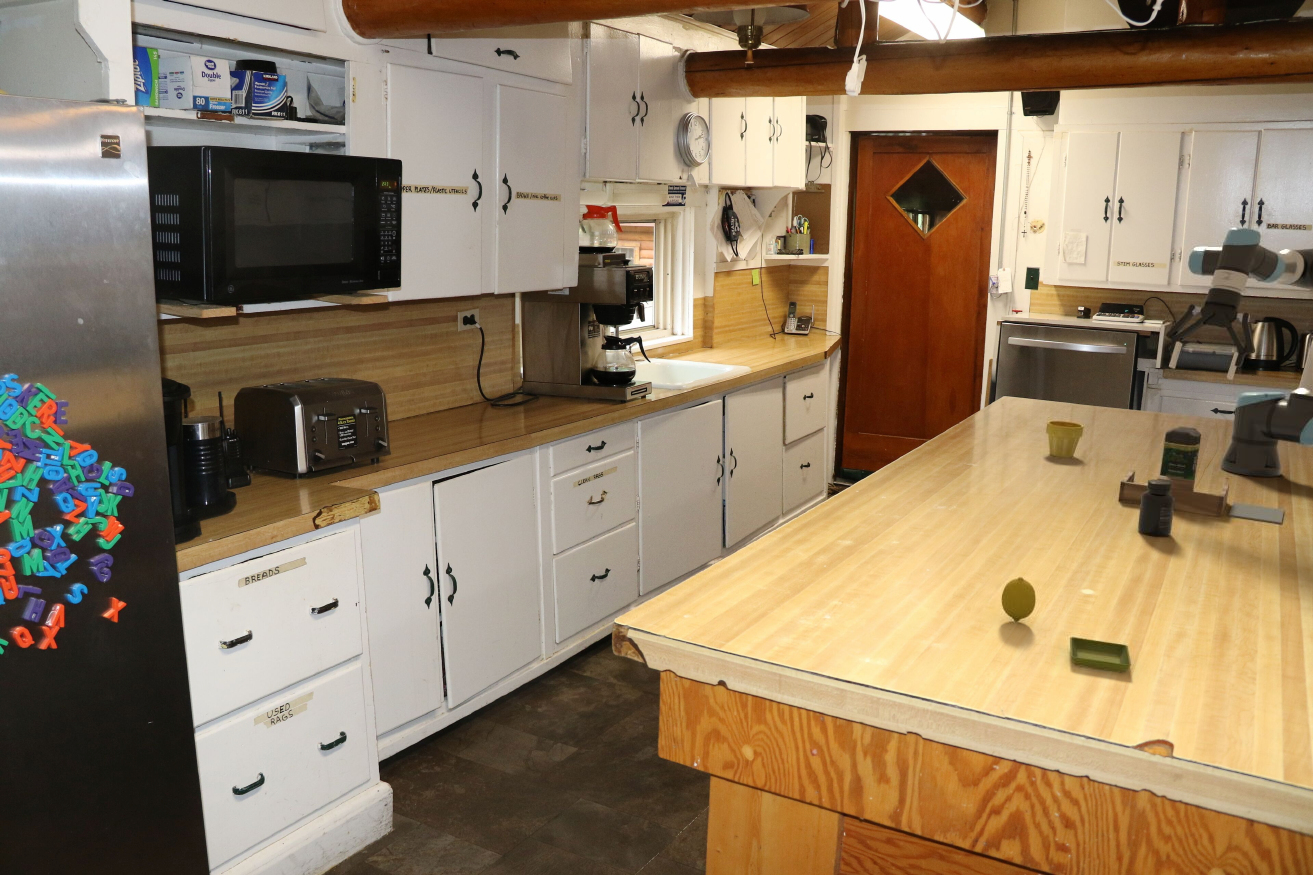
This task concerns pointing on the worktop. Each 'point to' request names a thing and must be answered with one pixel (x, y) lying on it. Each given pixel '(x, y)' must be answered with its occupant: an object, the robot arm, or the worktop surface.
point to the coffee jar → (1181, 453)
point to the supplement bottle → (1156, 509)
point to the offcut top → (1179, 483)
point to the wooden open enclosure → (1177, 497)
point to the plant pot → (1063, 437)
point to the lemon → (1018, 599)
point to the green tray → (1100, 654)
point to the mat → (1257, 513)
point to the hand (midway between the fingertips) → (1200, 373)
